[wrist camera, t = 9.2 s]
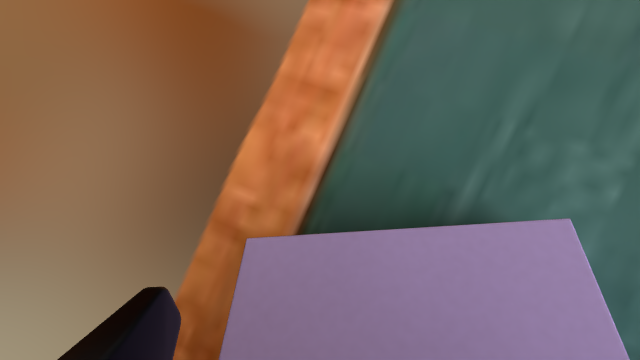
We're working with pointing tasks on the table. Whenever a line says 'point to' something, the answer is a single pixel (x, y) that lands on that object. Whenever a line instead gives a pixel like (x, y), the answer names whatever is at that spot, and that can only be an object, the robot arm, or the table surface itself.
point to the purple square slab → (421, 296)
